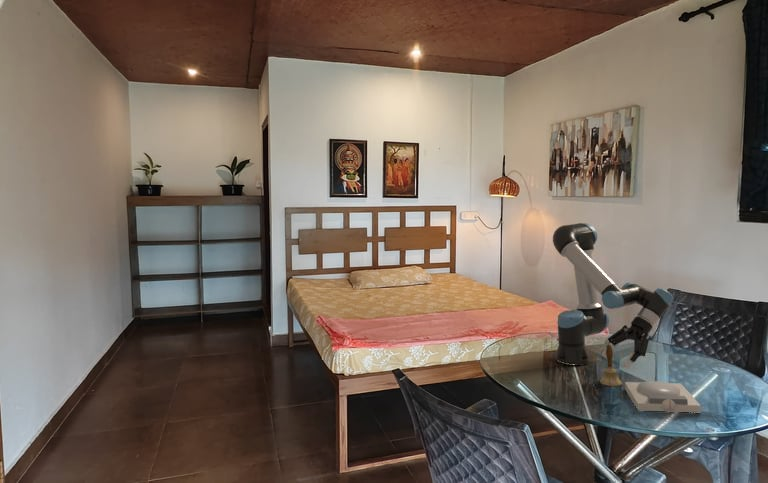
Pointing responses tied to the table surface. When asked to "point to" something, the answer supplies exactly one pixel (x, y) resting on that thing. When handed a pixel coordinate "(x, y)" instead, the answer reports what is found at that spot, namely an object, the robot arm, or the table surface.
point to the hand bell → (610, 371)
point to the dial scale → (661, 397)
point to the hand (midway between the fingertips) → (614, 361)
